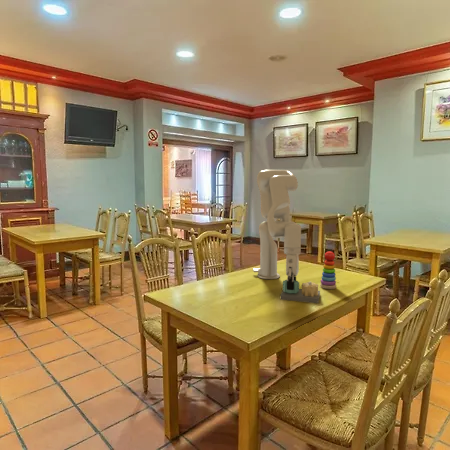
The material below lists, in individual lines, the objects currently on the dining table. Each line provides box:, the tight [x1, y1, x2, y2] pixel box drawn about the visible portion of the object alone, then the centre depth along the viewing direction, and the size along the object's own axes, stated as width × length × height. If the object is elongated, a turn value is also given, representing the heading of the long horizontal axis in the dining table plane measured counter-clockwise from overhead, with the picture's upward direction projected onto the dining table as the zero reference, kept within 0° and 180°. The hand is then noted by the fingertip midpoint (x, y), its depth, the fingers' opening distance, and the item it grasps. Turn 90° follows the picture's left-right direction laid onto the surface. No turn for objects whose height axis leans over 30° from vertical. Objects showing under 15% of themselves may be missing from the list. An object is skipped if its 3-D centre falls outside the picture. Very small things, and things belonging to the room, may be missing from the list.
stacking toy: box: [319, 251, 337, 290], centre depth 178 cm, size 8×8×19 cm
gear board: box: [279, 281, 321, 304], centre depth 164 cm, size 17×12×8 cm
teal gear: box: [282, 279, 300, 293], centre depth 166 cm, size 8×8×4 cm
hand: (291, 286), depth 165 cm, fingers closed on teal gear, 7 cm apart
